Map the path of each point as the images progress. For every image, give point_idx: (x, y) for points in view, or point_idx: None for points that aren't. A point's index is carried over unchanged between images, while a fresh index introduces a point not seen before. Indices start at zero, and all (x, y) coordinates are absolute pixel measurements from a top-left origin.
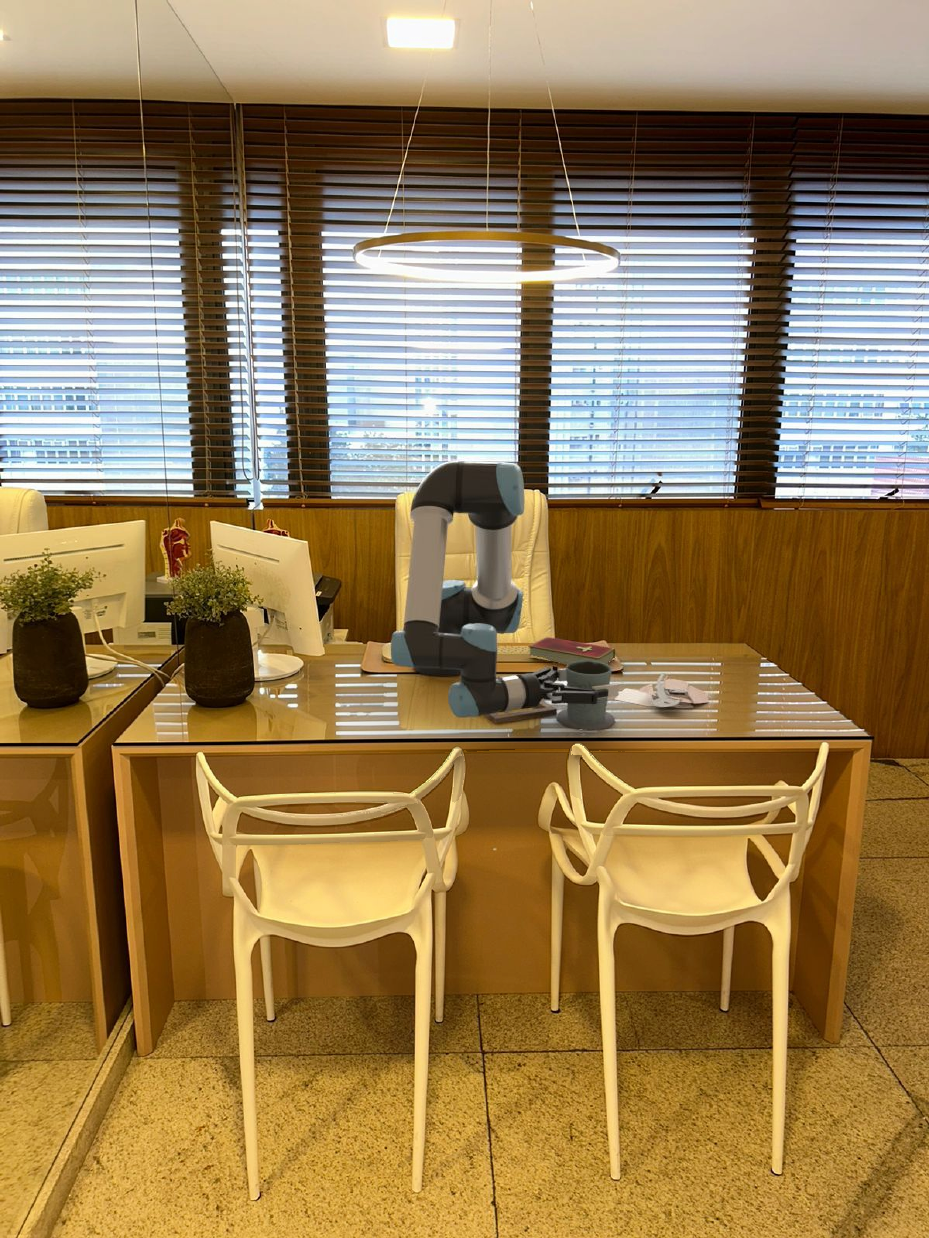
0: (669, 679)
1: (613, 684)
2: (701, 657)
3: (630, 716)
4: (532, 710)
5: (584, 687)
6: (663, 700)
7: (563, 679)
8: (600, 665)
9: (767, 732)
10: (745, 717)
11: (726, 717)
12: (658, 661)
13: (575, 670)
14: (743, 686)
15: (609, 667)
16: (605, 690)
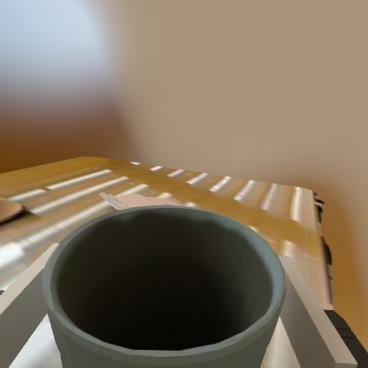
0: (118, 197)
1: (292, 269)
2: (84, 169)
3: None
4: None
5: None
6: None
7: (6, 362)
8: (147, 217)
9: (302, 217)
10: (250, 209)
11: (245, 218)
12: (52, 183)
13: (73, 288)
14: (167, 181)
15: (199, 212)
16: (343, 324)
